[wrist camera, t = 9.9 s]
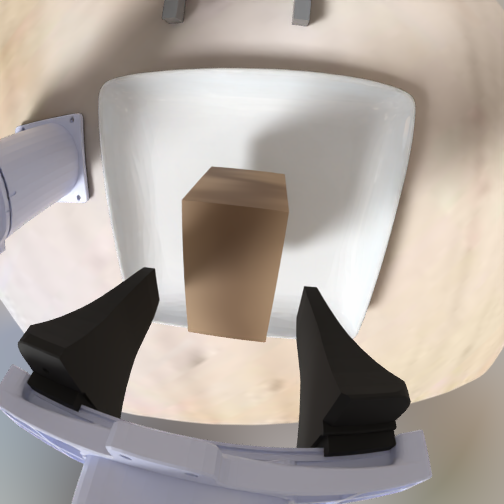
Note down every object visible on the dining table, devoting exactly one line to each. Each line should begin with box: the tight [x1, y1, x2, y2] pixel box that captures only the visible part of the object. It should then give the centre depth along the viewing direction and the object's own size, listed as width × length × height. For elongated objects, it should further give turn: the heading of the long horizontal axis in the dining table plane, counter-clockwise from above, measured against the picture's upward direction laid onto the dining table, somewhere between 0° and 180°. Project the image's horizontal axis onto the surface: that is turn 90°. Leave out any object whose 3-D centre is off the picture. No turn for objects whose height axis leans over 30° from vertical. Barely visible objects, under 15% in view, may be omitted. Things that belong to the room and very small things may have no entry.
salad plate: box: [98, 68, 415, 339], centre depth 20 cm, size 21×21×3 cm
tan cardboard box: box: [182, 166, 289, 342], centre depth 16 cm, size 4×8×6 cm, turn 175°
